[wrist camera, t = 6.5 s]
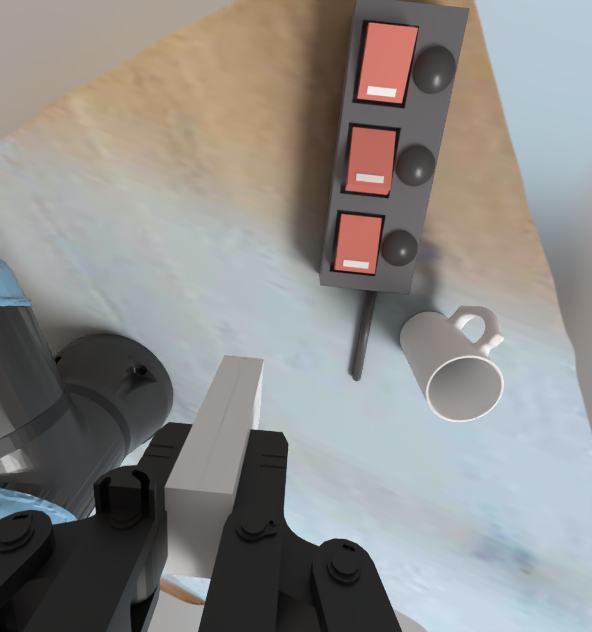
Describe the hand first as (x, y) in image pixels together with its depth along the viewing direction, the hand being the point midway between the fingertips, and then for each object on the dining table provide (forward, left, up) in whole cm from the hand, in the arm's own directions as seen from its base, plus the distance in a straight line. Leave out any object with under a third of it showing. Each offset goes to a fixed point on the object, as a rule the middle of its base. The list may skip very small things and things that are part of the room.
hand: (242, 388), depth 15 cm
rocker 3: (+7, +2, -25) cm, 26 cm away
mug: (+18, -7, -30) cm, 35 cm away
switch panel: (+9, +3, -29) cm, 31 cm away
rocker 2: (+7, +9, -25) cm, 27 cm away
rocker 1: (+7, +17, -25) cm, 31 cm away
